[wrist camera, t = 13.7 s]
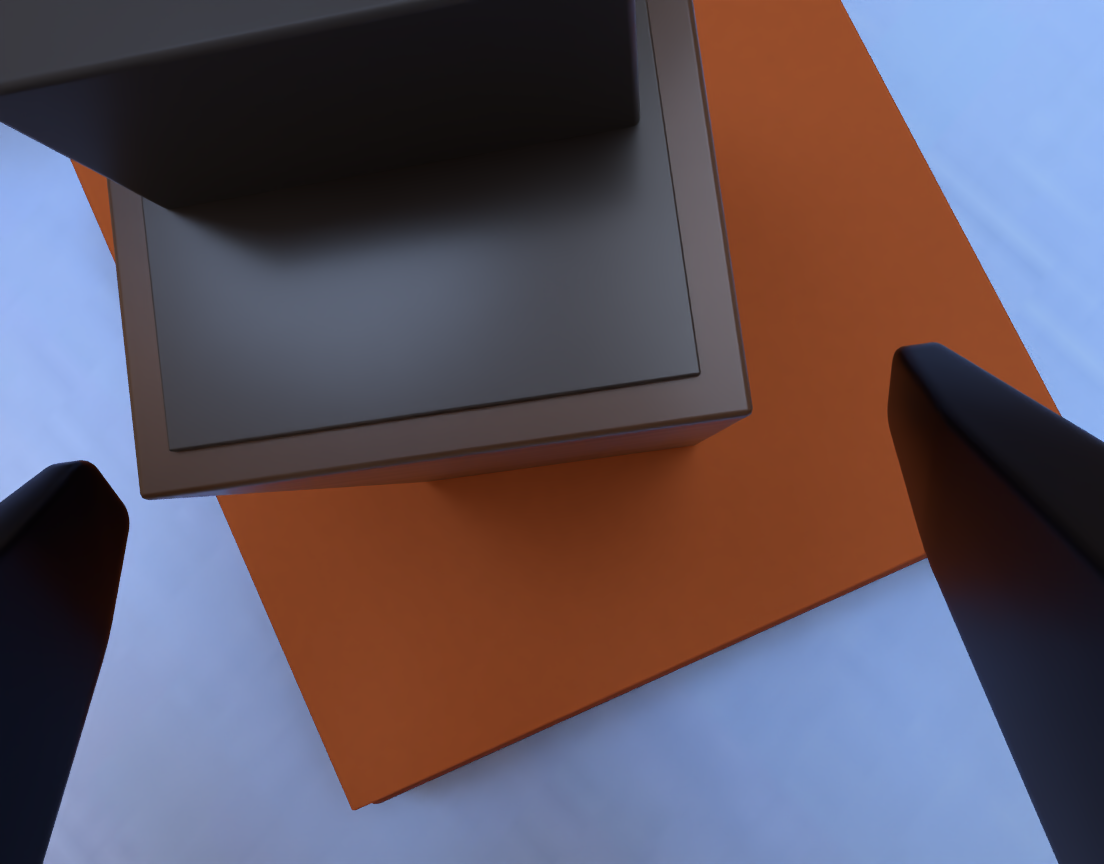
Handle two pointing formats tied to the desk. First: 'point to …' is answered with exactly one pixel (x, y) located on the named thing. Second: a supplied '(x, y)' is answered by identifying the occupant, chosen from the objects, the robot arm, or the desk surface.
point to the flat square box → (656, 476)
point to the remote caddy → (395, 230)
